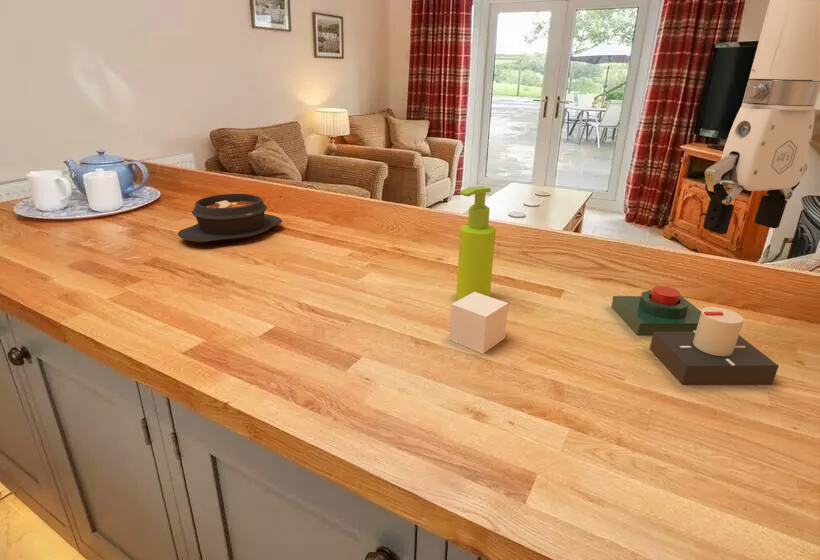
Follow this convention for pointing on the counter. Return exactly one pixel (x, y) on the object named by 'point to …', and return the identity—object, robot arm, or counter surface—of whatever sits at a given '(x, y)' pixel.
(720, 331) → the lock knob
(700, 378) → the dial panel
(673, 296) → the press top
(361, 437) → the counter surface
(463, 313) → the pale pink cube
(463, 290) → the soap dispenser
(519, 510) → the counter surface
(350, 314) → the counter surface
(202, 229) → the casserole
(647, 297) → the button base
